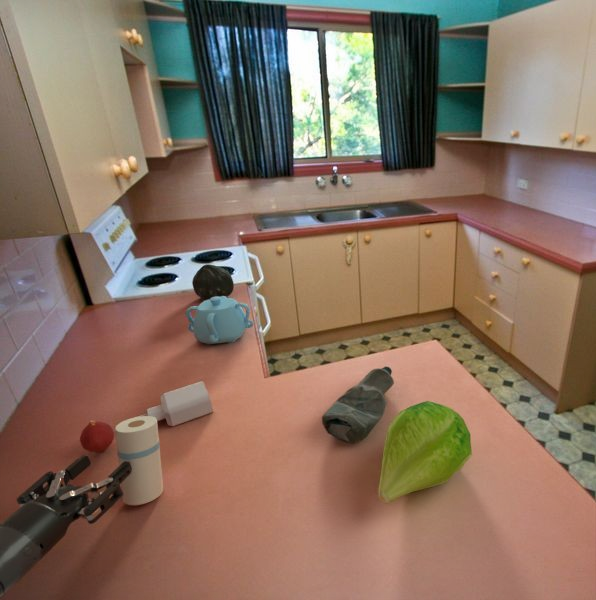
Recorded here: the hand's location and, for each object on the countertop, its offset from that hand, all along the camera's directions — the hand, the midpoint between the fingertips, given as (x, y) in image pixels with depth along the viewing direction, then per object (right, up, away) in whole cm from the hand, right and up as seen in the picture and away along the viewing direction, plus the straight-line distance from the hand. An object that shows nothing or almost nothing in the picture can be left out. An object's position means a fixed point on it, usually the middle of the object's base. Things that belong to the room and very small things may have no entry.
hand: (108, 462), depth 75 cm
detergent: (+43, +2, +26) cm, 50 cm away
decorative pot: (-5, +17, +62) cm, 64 cm away
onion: (-12, -4, +16) cm, 20 cm away
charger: (-2, +1, +26) cm, 26 cm away
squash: (-21, +29, +93) cm, 99 cm away
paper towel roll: (+4, -7, +4) cm, 9 cm away
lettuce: (+55, -6, +7) cm, 56 cm away
